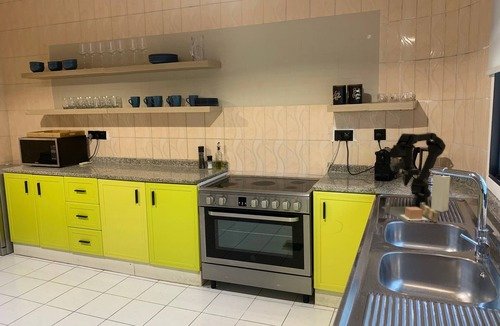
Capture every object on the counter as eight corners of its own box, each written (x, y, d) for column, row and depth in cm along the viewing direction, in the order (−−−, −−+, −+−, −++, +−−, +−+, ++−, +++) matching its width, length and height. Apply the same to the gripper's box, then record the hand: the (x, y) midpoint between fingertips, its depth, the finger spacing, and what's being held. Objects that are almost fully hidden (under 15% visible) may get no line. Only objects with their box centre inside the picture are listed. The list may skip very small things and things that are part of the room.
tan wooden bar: (421, 213, 204) (421, 204, 204) (425, 213, 204) (426, 204, 203) (433, 221, 189) (433, 212, 188) (437, 221, 189) (438, 212, 188)
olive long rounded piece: (423, 213, 207) (424, 202, 206) (425, 214, 205) (426, 203, 204) (384, 214, 206) (385, 202, 205) (386, 215, 203) (386, 203, 203)
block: (416, 215, 201) (417, 207, 201) (422, 218, 195) (422, 209, 195) (404, 215, 201) (405, 207, 200) (410, 219, 195) (410, 210, 194)
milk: (448, 210, 212) (451, 170, 209) (440, 212, 209) (443, 170, 206) (437, 208, 218) (440, 168, 215) (430, 209, 215) (433, 169, 212)
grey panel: (409, 207, 221) (409, 206, 221) (437, 221, 191) (437, 221, 191) (380, 207, 220) (380, 206, 220) (405, 222, 190) (405, 221, 190)
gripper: (385, 155, 220) (384, 182, 222) (399, 159, 202) (398, 189, 204) (404, 155, 221) (403, 182, 223) (421, 159, 203) (419, 189, 205)
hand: (405, 185), depth 214 cm, fingers closed
